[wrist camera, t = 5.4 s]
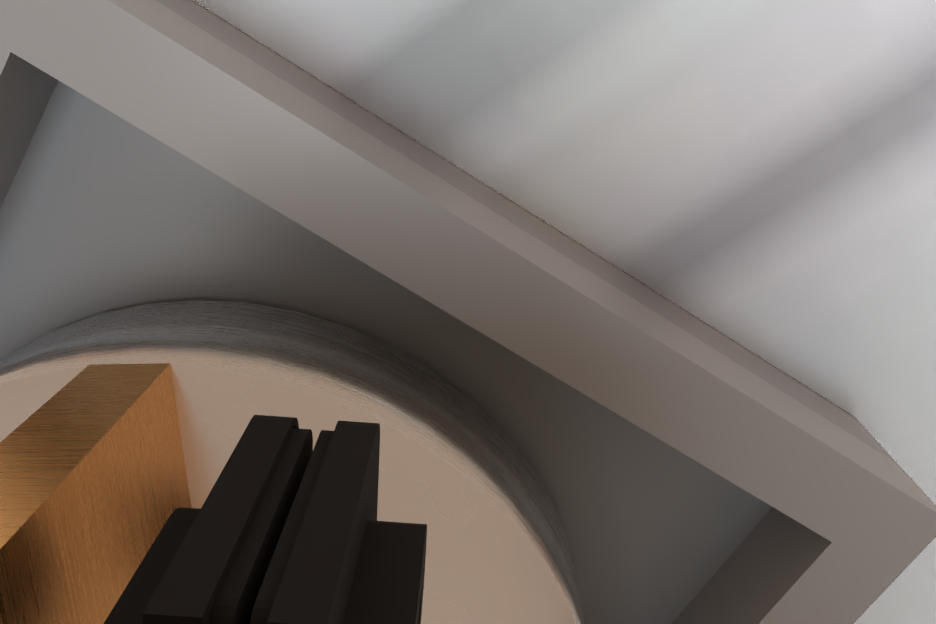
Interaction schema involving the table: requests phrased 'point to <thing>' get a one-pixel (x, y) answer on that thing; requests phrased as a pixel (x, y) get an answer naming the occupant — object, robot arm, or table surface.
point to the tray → (435, 309)
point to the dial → (214, 439)
